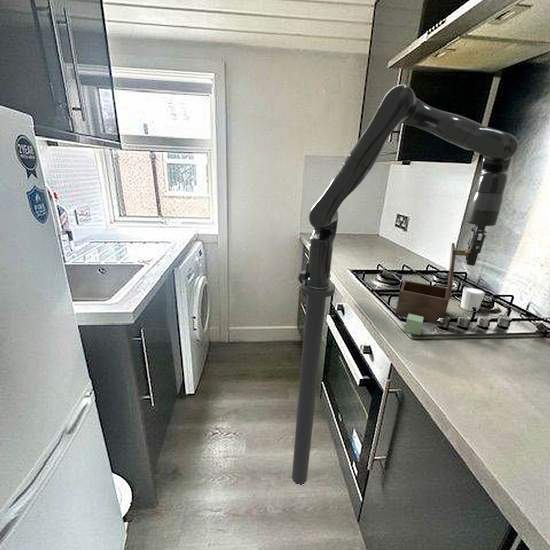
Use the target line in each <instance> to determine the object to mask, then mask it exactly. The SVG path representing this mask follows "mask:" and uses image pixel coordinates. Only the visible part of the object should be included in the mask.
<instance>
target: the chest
mask: <svg viewBox="0 0 550 550" xmlns="http://www.w3.org/2000/svg"><path fill="white" fill-rule="evenodd" d="M449 302H450V299H448V287H445V286H444V287H443V286H439V285H433V284H427V283H421V282H417V281H410V280H403V282H402V285H401V287H400V290H399V294H398V300H397V305H396V309H395V310H396V311H395V315H397V316H398V315H399V316H402V317H408V314H413V315H417V316H422V317H424V319H423V322H429V323H433V324H437V325H441V326H442V325H444V322H443V323H441V322H440V321H437V320H438V319H439V318H444V319H445V318H446V314H447V311H448V306H449Z"/></svg>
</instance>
